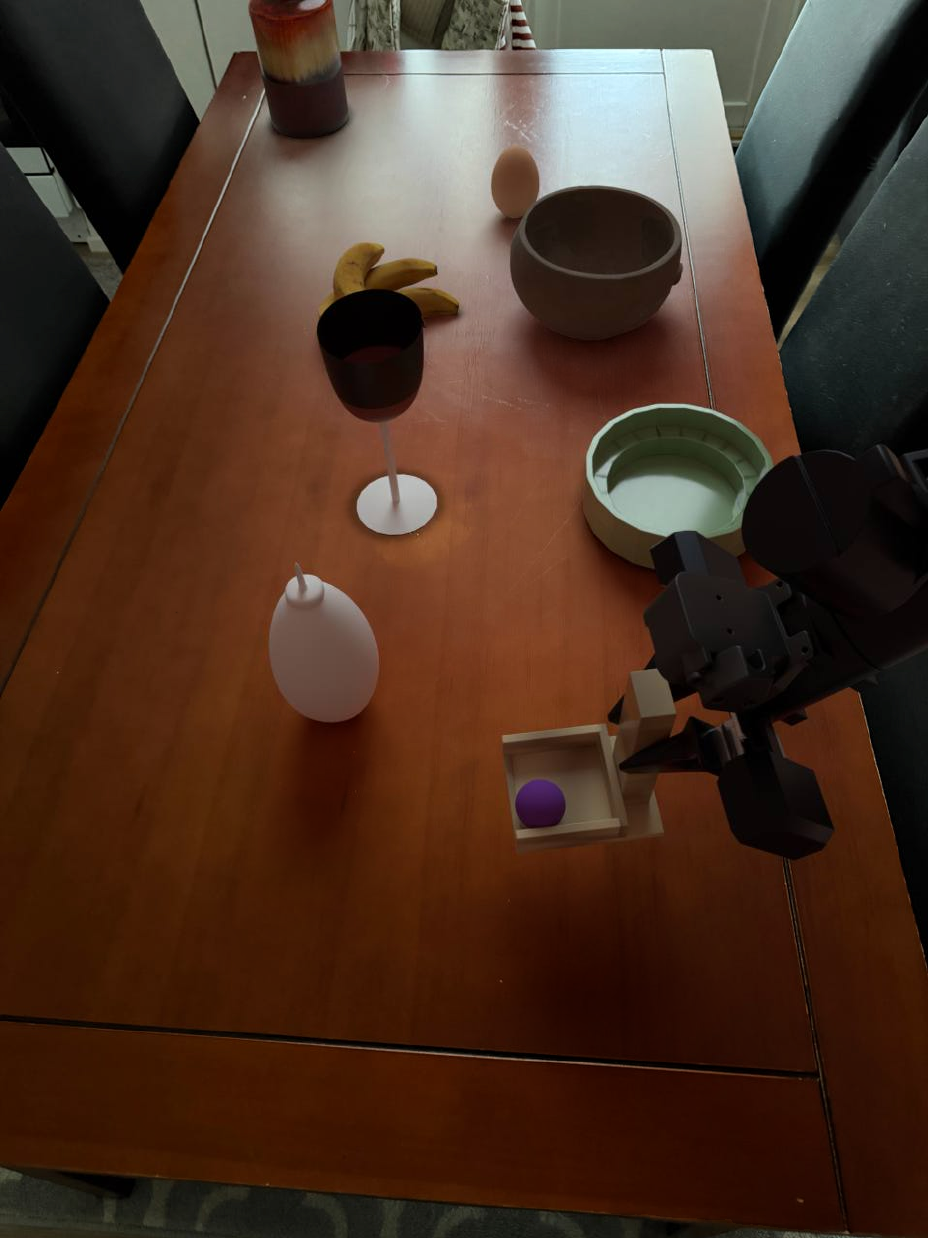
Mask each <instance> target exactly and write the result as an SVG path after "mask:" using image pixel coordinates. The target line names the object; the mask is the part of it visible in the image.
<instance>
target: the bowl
mask: <svg viewBox="0 0 928 1238" xmlns="http://www.w3.org/2000/svg"><path fill="white" fill-rule="evenodd" d="M509 247H510V248H509V270H510V278H511V282H512V285H513V288H514V291H515V293H516V295H517V297H518V299H519V300H520V302H521V303H522V305H523V307H524V308H525V309H526V310H527V311H528V313H529V314H530V315H532V317H533V318H534V319H536V320H537V321H538V322H539V323H540V324H541V325H543V326H544V327H546V328H547V329H549V330H551V331H552V332H555V333H557V334H560V335H563V336H565V337H569V338H572V339H576V340H582V341H599V340H601V341H602V340H605V339H611V338H614V337H617V336H619V335H623V334H625V333H627V332H631V331H634V330H636V329H638V328H639V327H641V326H642V325H643V324H645V323H646V322H648V321H649V320H650V319H652V317H654V316H655V315H656V314H657V313H658V312H659V311H660V309H661V308H662V306H663V305H664V303H665V302H666V300H667V299H668V297H669V295H670V294H671V290H672V288H673V286H677V285H678V284H679V282H680V281H681V279H682V275H683V272H684V265H683V263H682V262H681V258H682V251H683V249H682V248H683V235H682V229H681V226H680V223H679V221H678V220H677V218H676V217H675V215H674V214H673V212H671V210H670V209H669V208H667V207H666V206H665V205H663V204H662V203H660V202H659V201H657V200H655V199H654V198H652V197H650V196H647V195H645V194H643V193H640V192H638V191H635V190H631V189H627V188H622V187H617V186H609V185H597V184H596V185H595V184H594V185H593V184H591V185H575V186H574V185H573V186H567V187H565V188H561V189H558V190H554V191H552V192H550V193H548V194H546V195H543V196H542V197H541V198H539V199H537V200H536V202H535V203H534V204H532V205H531V206H530V207H529V208H528V210H527V211H526V213H525V215H524V216H522V217H521V220H520V222H519V225H518V226H517V228H516V230H515V232H514V235H513V236H512V238H511V242H510V246H509Z"/></svg>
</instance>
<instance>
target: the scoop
mask: <svg viewBox="0 0 928 1238" xmlns="http://www.w3.org/2000/svg"><path fill="white" fill-rule="evenodd" d="M624 694H625V696H624V701H623V706H622V711H621V716H620V720H619V725H617V731H616V735H612V736H610V734H609V730H608V725H607V723H598V724H589V725H580V726H572V727H563V728H555V729H546V730H539V731H530V732H522V733H513V734H505V735H504V734H503V735H501V758H502V763H503V769H504V770H503V771H504V777H505V784H506V791H507V798H508V804H509V805H508V806H509V811H510V812H509V813H510V818H511V825H512V826H511V827H512V832H513V839H514V845H515V852H516V854H526V853H534V852H542V851H552V850H559V849H568V848H576V847H585V846H593V845H600V844H601V845H602V844H608V843H609V844H610V843H617V842H626V841H633V840H641V839H642V840H643V839H650V838H658V837H659V838H661V837H663V836H665V835H664V834H665V829H664V825H663V821H662V817H661V813H660V810H659V809H660V808H659V805H658V801H657V797H656V794H655V789H654V788H655V785H656V782H657V779H658V775H659V773H650V774H627V773H624V772H622V771H620V770H619V766H618V765H619V764H620V763H621V762H622V761H624V760H625V759H627V758H628V757H630V756H631V755H634V754H635V753H637V752H639V751H641V750H644V749H646V748H648V747H650V746H652V745H654V744H657V743H659V742H661V741H663V740H665V739H667V738H670V737H671V734H672V731H673V728H674V725H675V721H676V718H677V715H678V712H677V709H676V706H675V703H674V701H673V698H672V694H671V691H670V687H669V683H668V681H667V680H665V679H664V678H663V677H662V676H661V675H660V673H659V671H658V670H657V669H650V670H644V669H643V670H635V671H629V673H628V678H627V683H626V688H625V692H624ZM537 779H543V780H548V781H550V782H552V783H554V784H555V785H557V786H558V787H559V788H560V790H561V791H562V793H563V795H564V797H565V802H566V809H565V813H564V816H563V818H562V820H561V821H560V822H559V823H558V824H557V825H556V826H549V827H540V828H532V829H530V828H528V827H527V826H525V825H524V824H523V823H522V822H521V821H520V819H519V817H518V815H517V813H516V809H515V800H516V796H517V794H518V792H519V790H520V789H521V788H522V787H523V786H524V785H525V784H526V783H528V782H530V781H532V780H537Z"/></svg>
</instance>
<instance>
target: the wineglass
mask: <svg viewBox="0 0 928 1238" xmlns="http://www.w3.org/2000/svg"><path fill="white" fill-rule="evenodd" d="M396 291H397V290H395V291H391V290H385V289H369V290H362V291H357V292H354V293H351V294H348V295H346V296H344V297H342V298H340V299H338V300H337V301H335V302H334V303H332V304H331V305H330V306H329V307H328V308H327V309H326V310H325V311H324V312H323V314H322V315H321V317H320V319H319V318H318V321H317V325H316V337H317V341H318V346H319V351H320V354H321V358H322V361H323V364H324V367H325V370H326V371H325V372H326V374H327V376H328V377H327V378H328V379H329V382H330V384H331V387H332V389H333V391H334V393H335V395H336V397H337V398H338V400H339V402H340V403H341V404H342V406H343V407H344V409H346V410H347V411H348V412H349V413H350V414H351V415H352V416H353V417H355V418H356V419H358V420H361V421H363V422H368V423H373V424H375V423H376V424H379V425H380V430H381V431H380V433H381V439H382V443H383V444H382V445H383V451H384V458H385V464H386V471H387V475H386V476H382V477H379V478H378V479H375V480H374V481H372V482H370V483H368V485H367V486H366V487H365V488H364V489H363V490H362V491H361V492H360V495H359V496H358V497H357V500H356V512H357V515H358V518H359V520H360V521H361V523H363V524H364V526H365V527H367V528H368V529H370V530H372V531H374V532H375V533H379V534H383V535H388V536H393V535H396V536H397V535H405V534H408V533H411V532H416V531H417V530H419V529H420V528H422V527H424V526H425V525H426V524H427V523H428V522H429V521H430V520H431V519H432V518H433V517H434V515H435V513H436V510H437V507H438V498H437V495H436V493H435V490H434V488H433V487H432V486H431V485H430V484H429V483H428V482H426V480H424V479H421V478H419V477H417V476H414V475H410V474H397V467H396V460H395V453H394V447H393V440H392V433H391V425H390V421H392V420H395V419H396V418H398V417H399V416H401V415H403V414H404V413H405V412H407V410H409V408H410V407H411V406H412V405H413V403H414V402H415V400H416V398H417V396H418V393H419V391H420V388H421V385H422V382H423V377H424V366H425V337H424V336H425V335H424V328H423V320H424V319H423V317H422V314H421V311H420V309H419V307H418V306H417V304H416V303H415V302H414V301H413V300H411V299H410V298H409V297H407V296H405V295H403V294H401V293H398V292H396ZM422 319H423V320H422Z"/></svg>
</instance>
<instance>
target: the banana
mask: <svg viewBox="0 0 928 1238" xmlns="http://www.w3.org/2000/svg"><path fill="white" fill-rule="evenodd" d="M385 252H386V251H385V247H384V246H383V245H382V244H380V243H377V242H367V241H363V242H359V243H356V244H354V245H352V246H351V247H350V248H348V249H347V250H346V251H345V252H344V253H343V254H342V256H341V257H340V258H339V260H338V262H337V264H336V266H335V269H334V274H333V279H332V289H333V291H332V292H331V293H329V295H328V296H327V297H326V298H325V299H324V300H323V301H322V302H321V304H320V306H319V308H318V320H319V319H320V317H321V315H322V314H323V312H324V311H325V310H326V309H327V308H328V307H329V306H330V305H331V304H332V303H334V302H335V301H337V300H338V299H340V298H342V297H344V296H346V295H348V294H351V293H354V292H357V291H362V290H369V289H385V290H391V291H396V292H398V293H401V294H403V295H405V296H407V297H409V298H410V299H411V300H413V301H414V302H415V303H416V304H417V306H418V307H419V309H420V311H421V314H422V320H423V329H427V326H426V322H425V320H424V319H423V318H428V317H438V316H443V315H444V316H445V315H457V314H459V309H460V302H459V301H458V299H456V298H455V297H454V296H452V295H451V294H450V293H448V292H447V291H445V290H442V289H439V288H435V287H423V286H422V287H421V286H419V287H411V286H413V285H417V284H418V283H421V282H422V281H425V280H427V279H430V278H435V277H436V276H438V275H439V274H438V273H439V272H438V266H437V265H436V264H435V263H433V262H431V261H428V260H424V259H420V258H412V257H407V258H401V259H396V260H393V261H389V262H386V263H382V264H379V265H377V264H378V263H379V261H380V260H381V258H382V256H383V255H384V254H385ZM376 265H377V266H376ZM408 287H409V288H408ZM410 287H411V288H410Z"/></svg>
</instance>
